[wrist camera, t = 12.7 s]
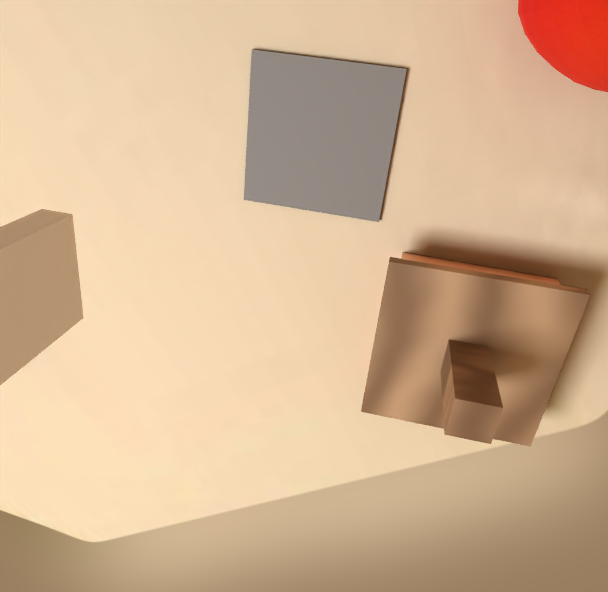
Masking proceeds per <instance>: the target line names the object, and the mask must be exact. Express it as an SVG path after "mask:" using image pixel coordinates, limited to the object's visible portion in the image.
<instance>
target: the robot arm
mask: <svg viewBox="0 0 608 592" xmlns="http://www.w3.org/2000/svg"><path fill="white" fill-rule="evenodd" d="M81 319H83V310H82V301H81V291H80V282H79V272H78V263H77V254H76V244H75V235H74V225H73V216H72V214H67V213H61V212H56V211H50V210H44V209H41V210H39V211H37V212H34V213H32V214H30V215H27V216H25V217H23V218H20V219H18V220H16V221H14V222H11V223H9V224H7V225H4V226H2V227H0V385H1V384H2V383H4V382H5V381H6V380H7V379H8V378H10V377H11V376H12V375H13V374H15V373H16V372H17V371H18V370H20V369H21V368H22V367H23V366H25V365H26V364H27V363H28V362H29V361H31V360H32V359H33V358H34V357H36V356H37V355H38V354H39V353H41V352H42V351H43V350H44V349H46V348H47V347H48V346H49V345H50V344H52V343H53V342H54V341H55V340H57V339H58V338H59V337H60V336H62V335H63V334H64V333H65V332H66V331H68V330H69V329H70V328H71V327H73V326H74V325H75V324H76V323H78V322H79V321H80V320H81Z"/></svg>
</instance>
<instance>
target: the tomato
mask: <svg viewBox="0 0 608 592" xmlns="http://www.w3.org/2000/svg"><path fill="white" fill-rule="evenodd" d="M518 13H519V16H520V20H521V23H522V26H523V29H524V32H525V34H526V36H527V37H528V39H529V40H530V42H531V43H532V45H533V46H534V48H535V49H536V51H537V52H538V53H539V54H540V55H541V56H542V57H543V58H544V59H545V60H546V61H547V62H548V63H550V64H551V65H552V66H553V67H554V68H555V69H556V70H558V71H559V72H561V73H562V74H564V75H565V76H567V77H568V78H570V79H571V80H573V81H574V82H576V83H579V84H581V85H584V86H587V87H589V88H592V89H595V90H600V91H605V92H608V0H519V4H518Z"/></svg>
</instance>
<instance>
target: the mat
mask: <svg viewBox="0 0 608 592" xmlns="http://www.w3.org/2000/svg"><path fill="white" fill-rule="evenodd" d="M406 71H407V69H405V68H397V67H389V66H381V65H373V64H365V63H357V62H349V61H341V60H333V59H325V58H317V57H309V56H301V55H293V54H285V53H277V52H269V51H261V50H252V57H251V76H250V94H249V113H248V132H247V150H246V169H245V188H244V200H249V201H255V202H261V203H267V204H273V205H279V206H285V207H291V208H298V209H304V210H310V211H316V212H322V213H328V214H334V215H340V216H346V217H352V218H358V219H364V220H370V221H376V222H379V219H380V214H381V208H382V203H383V197H384V192H385V186H386V181H387V175H388V170H389V164H390V159H391V153H392V148H393V142H394V137H395V131H396V126H397V120H398V115H399V109H400V104H401V98H402V93H403V87H404V82H405V76H406Z"/></svg>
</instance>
